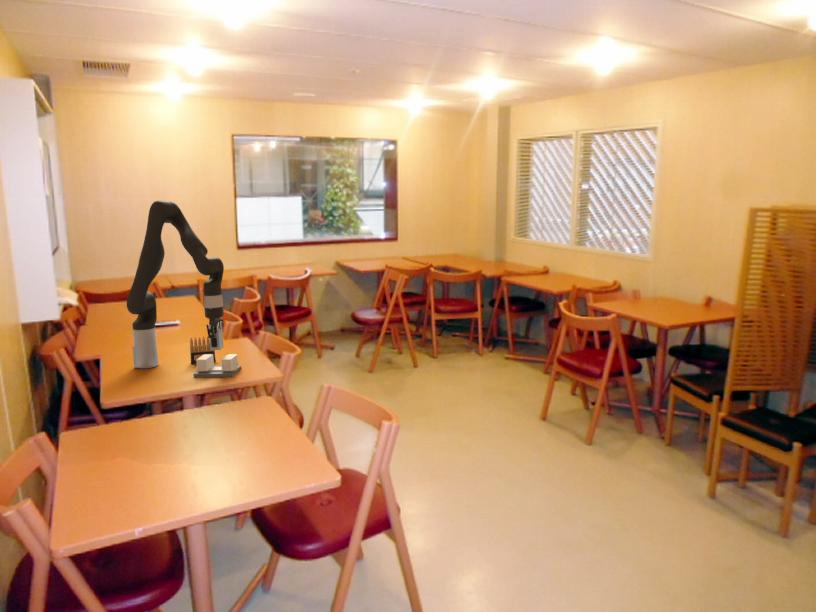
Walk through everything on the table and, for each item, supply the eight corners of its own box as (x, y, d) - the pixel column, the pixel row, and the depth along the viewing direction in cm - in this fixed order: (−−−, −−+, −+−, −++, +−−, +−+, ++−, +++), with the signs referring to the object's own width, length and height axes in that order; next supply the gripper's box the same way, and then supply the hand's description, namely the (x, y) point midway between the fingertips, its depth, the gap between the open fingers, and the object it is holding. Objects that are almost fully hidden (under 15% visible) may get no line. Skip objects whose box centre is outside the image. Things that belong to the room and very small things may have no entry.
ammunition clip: (190, 364, 272) (188, 338, 270) (190, 363, 273) (189, 337, 271) (215, 361, 275) (213, 336, 273) (215, 360, 277) (213, 335, 275)
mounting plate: (193, 377, 250) (193, 372, 249) (205, 369, 263) (204, 364, 262) (232, 377, 249) (231, 372, 249) (241, 368, 262) (241, 364, 262)
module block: (210, 350, 252) (208, 331, 251) (214, 347, 257) (213, 328, 255) (219, 349, 252) (218, 331, 250) (223, 347, 257) (222, 328, 255)
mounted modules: (197, 371, 251) (196, 359, 251) (204, 365, 260) (204, 354, 259) (231, 371, 251) (230, 359, 250) (238, 365, 260) (237, 354, 259)
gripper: (210, 303, 258) (213, 341, 261) (198, 308, 244) (201, 349, 247) (228, 302, 258) (230, 341, 261) (216, 308, 244) (219, 349, 247)
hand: (216, 345), depth 254 cm, fingers closed on module block, 5 cm apart
